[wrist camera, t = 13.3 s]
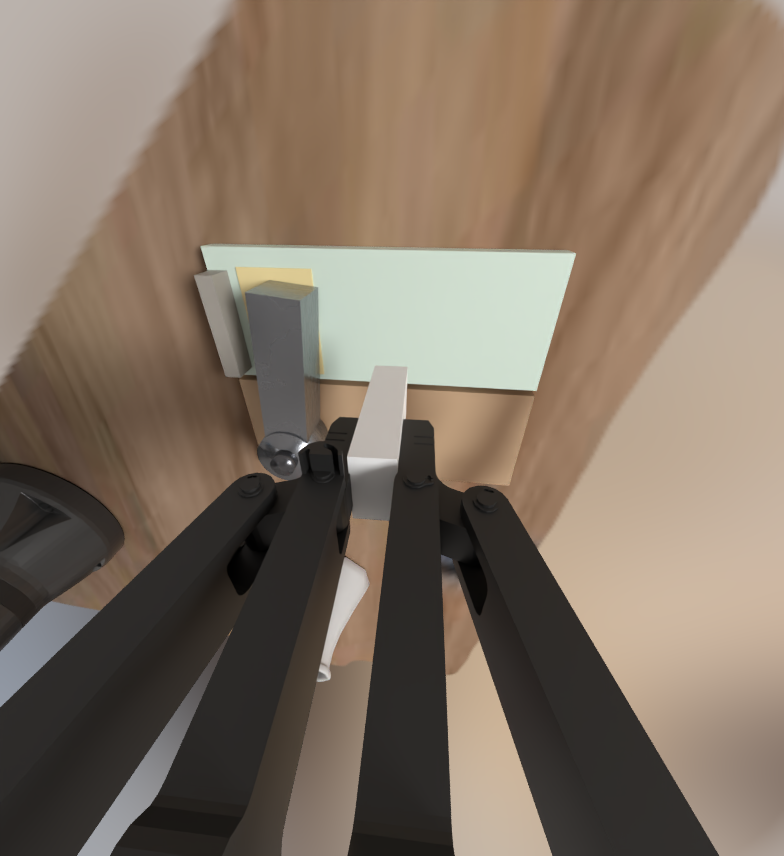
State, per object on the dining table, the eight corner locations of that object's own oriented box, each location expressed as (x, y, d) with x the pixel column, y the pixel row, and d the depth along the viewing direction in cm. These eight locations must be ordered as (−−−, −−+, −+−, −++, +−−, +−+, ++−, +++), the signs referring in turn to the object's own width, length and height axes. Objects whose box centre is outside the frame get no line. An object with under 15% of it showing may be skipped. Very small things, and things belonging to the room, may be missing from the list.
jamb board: (270, 456, 29) (264, 465, 28) (247, 372, 24) (239, 379, 23) (506, 475, 27) (509, 485, 26) (530, 387, 22) (534, 396, 21)
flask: (295, 559, 37) (256, 660, 29) (350, 548, 35) (324, 655, 27) (328, 593, 41) (301, 691, 33) (380, 585, 39) (365, 689, 30)
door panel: (245, 366, 24) (225, 385, 22) (212, 243, 19) (182, 249, 17) (532, 382, 22) (542, 403, 20) (568, 250, 18) (587, 258, 15)
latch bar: (328, 455, 26) (312, 493, 23) (278, 448, 26) (255, 483, 23) (328, 288, 19) (305, 307, 15) (259, 278, 19) (222, 295, 16)
